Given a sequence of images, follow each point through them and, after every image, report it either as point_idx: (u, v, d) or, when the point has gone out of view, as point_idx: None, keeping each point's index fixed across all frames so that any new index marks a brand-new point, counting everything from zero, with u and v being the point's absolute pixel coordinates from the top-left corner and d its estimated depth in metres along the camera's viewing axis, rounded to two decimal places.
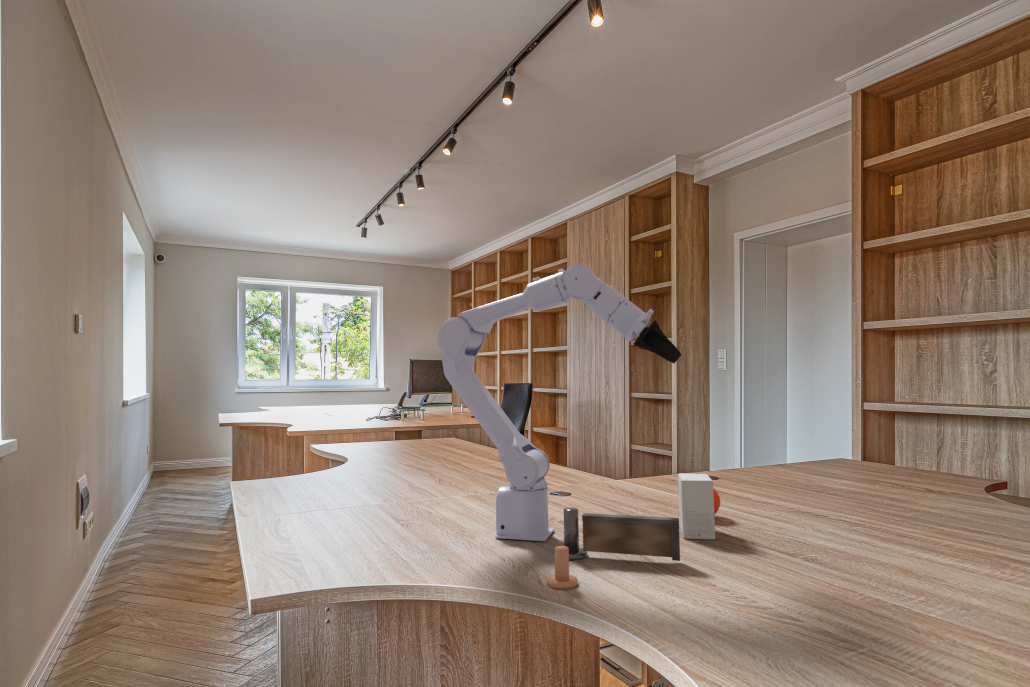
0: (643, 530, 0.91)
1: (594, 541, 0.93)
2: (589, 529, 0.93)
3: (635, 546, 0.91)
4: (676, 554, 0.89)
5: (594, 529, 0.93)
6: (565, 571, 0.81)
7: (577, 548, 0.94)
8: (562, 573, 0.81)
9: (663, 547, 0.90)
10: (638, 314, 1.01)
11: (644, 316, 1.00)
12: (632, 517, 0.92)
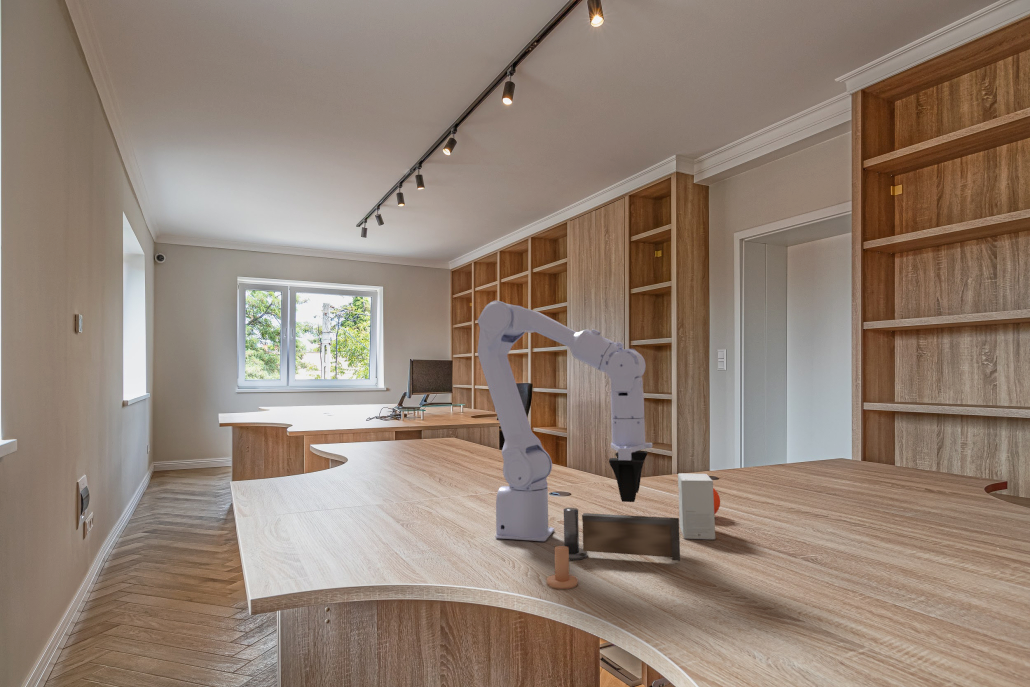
0: (643, 530, 0.91)
1: (594, 541, 0.93)
2: (589, 529, 0.93)
3: (635, 546, 0.91)
4: (676, 554, 0.89)
5: (594, 529, 0.93)
6: (565, 571, 0.81)
7: (577, 548, 0.94)
8: (562, 573, 0.81)
9: (663, 547, 0.90)
10: (638, 440, 0.97)
11: (640, 447, 0.96)
12: (632, 517, 0.92)
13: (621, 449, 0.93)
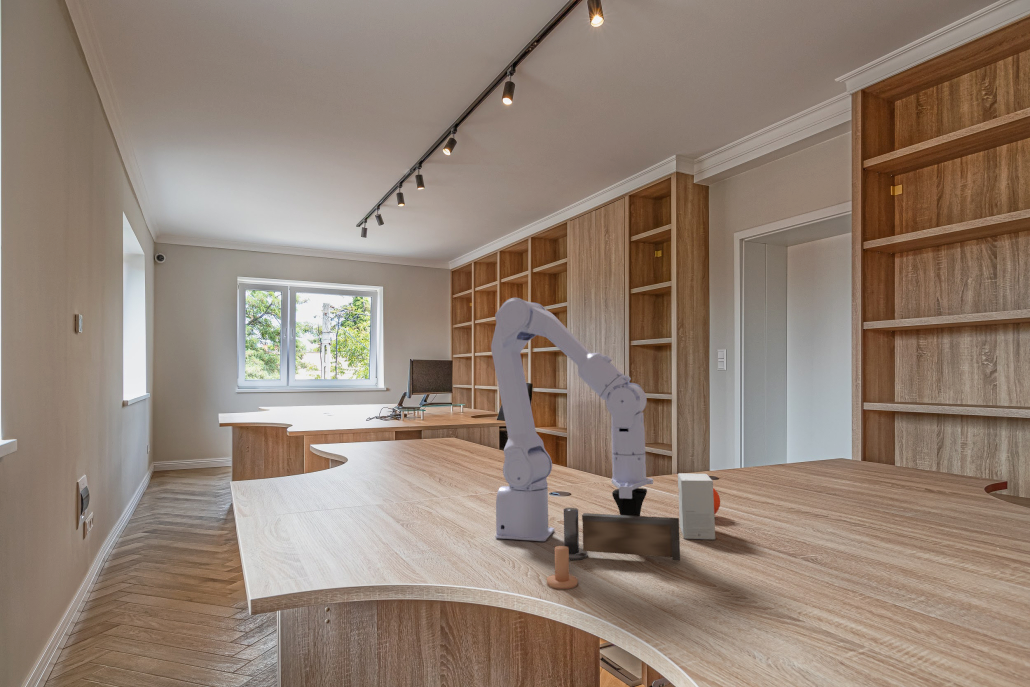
0: (643, 530, 0.91)
1: (594, 541, 0.93)
2: (589, 529, 0.93)
3: (635, 546, 0.91)
4: (676, 554, 0.89)
5: (594, 529, 0.93)
6: (565, 571, 0.81)
7: (577, 548, 0.94)
8: (562, 573, 0.81)
9: (663, 547, 0.90)
10: (638, 476, 0.97)
11: (641, 483, 0.96)
12: (632, 517, 0.92)
13: (622, 487, 0.93)
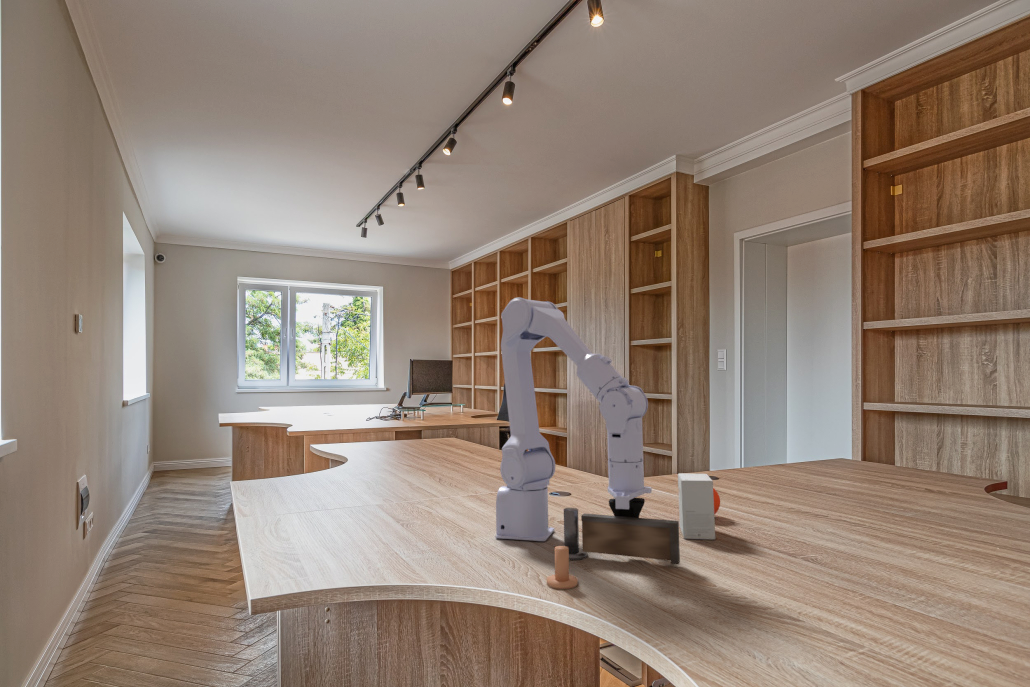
0: (642, 532, 0.90)
1: (593, 541, 0.93)
2: (588, 530, 0.93)
3: (634, 548, 0.90)
4: (675, 557, 0.88)
5: (593, 529, 0.93)
6: (565, 571, 0.81)
7: (577, 548, 0.94)
8: (562, 573, 0.81)
9: (662, 550, 0.89)
10: (636, 485, 0.91)
11: (638, 493, 0.90)
12: (631, 518, 0.91)
13: (618, 497, 0.87)
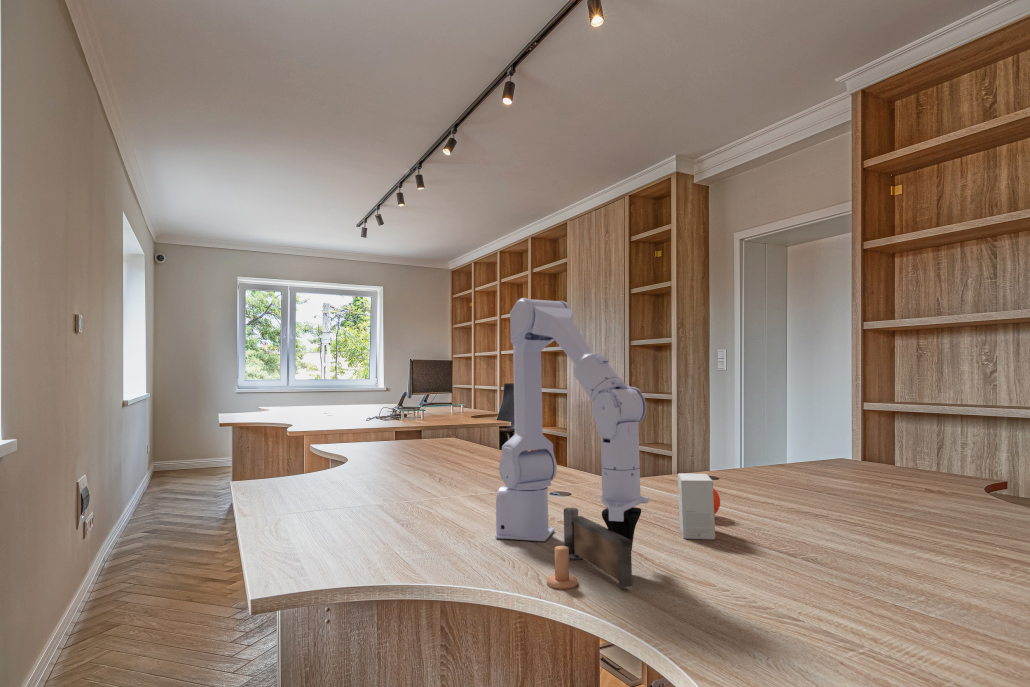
0: (603, 544, 0.84)
1: (579, 545, 0.91)
2: (577, 532, 0.92)
3: (600, 560, 0.85)
4: (621, 579, 0.79)
5: (579, 533, 0.91)
6: (565, 571, 0.81)
7: None
8: (562, 573, 0.81)
9: (615, 568, 0.81)
10: (631, 495, 0.84)
11: (634, 503, 0.83)
12: (599, 528, 0.85)
13: (612, 508, 0.80)
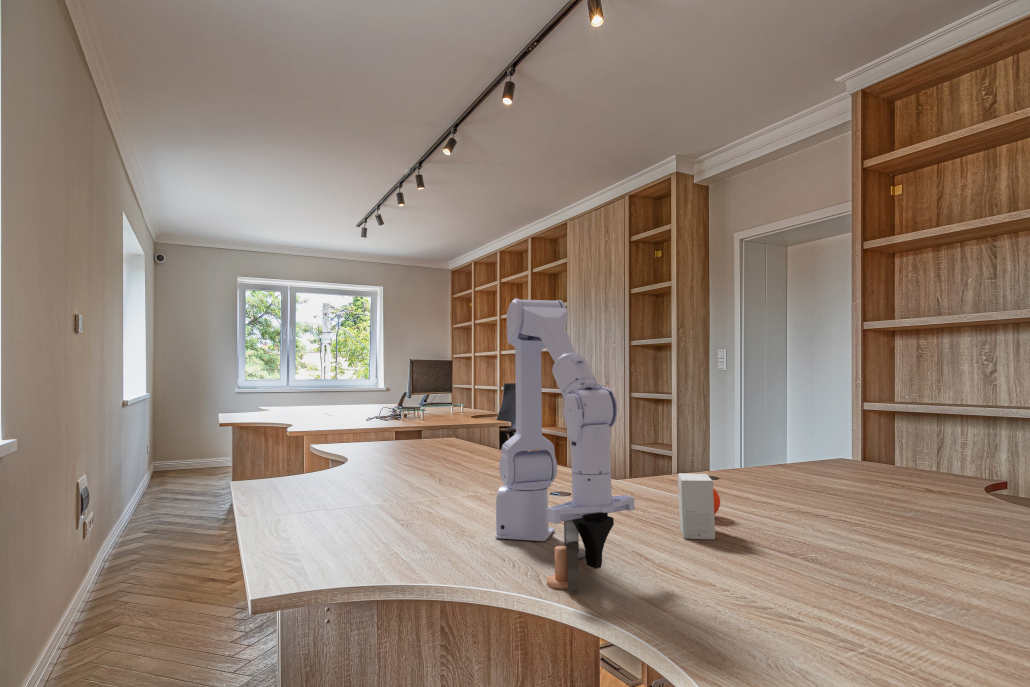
0: None
1: None
2: None
3: None
4: None
5: None
6: (565, 571, 0.81)
7: None
8: (562, 573, 0.81)
9: None
10: (587, 500, 0.81)
11: (585, 509, 0.80)
12: (570, 529, 0.85)
13: (548, 509, 0.80)
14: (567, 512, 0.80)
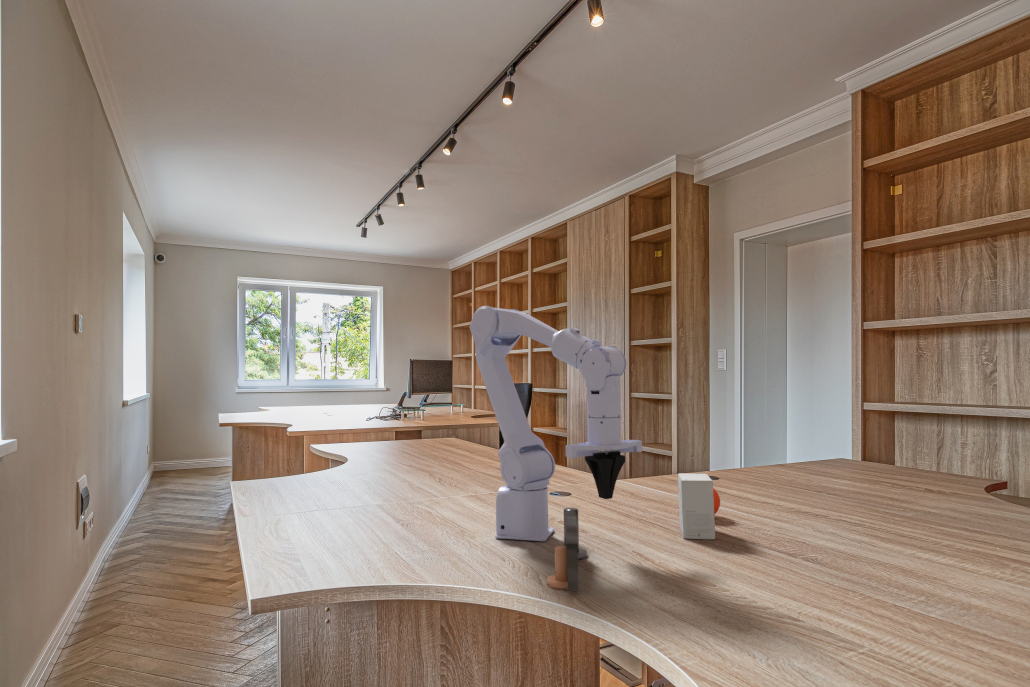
0: None
1: None
2: None
3: None
4: None
5: None
6: (565, 571, 0.81)
7: None
8: (562, 573, 0.81)
9: None
10: (600, 440, 0.95)
11: (598, 447, 0.94)
12: (570, 529, 0.85)
13: (567, 446, 0.94)
14: (582, 449, 0.94)
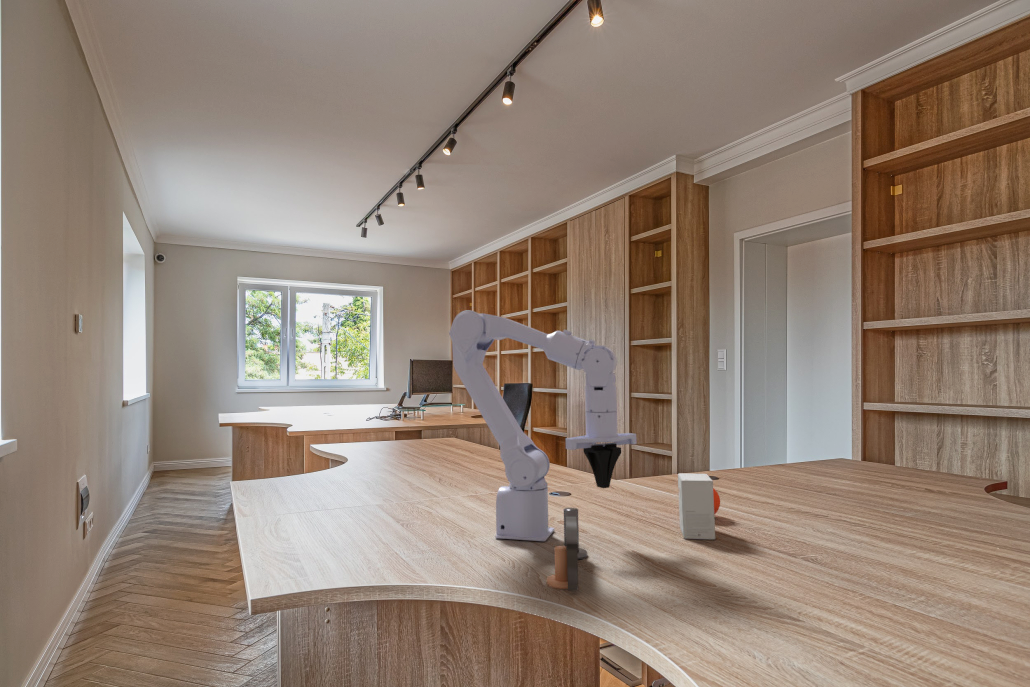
0: None
1: None
2: None
3: None
4: None
5: None
6: (565, 571, 0.81)
7: None
8: (562, 573, 0.81)
9: None
10: (597, 433, 1.01)
11: (596, 439, 1.01)
12: (570, 529, 0.85)
13: (567, 439, 1.01)
14: (581, 441, 1.00)
